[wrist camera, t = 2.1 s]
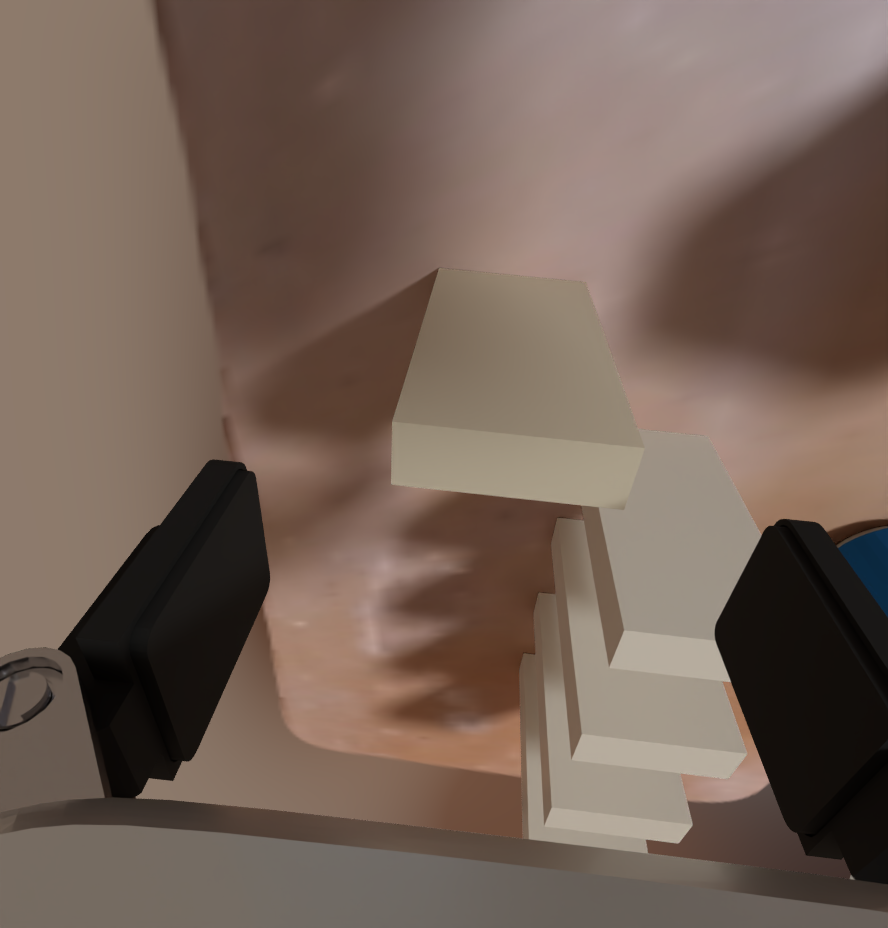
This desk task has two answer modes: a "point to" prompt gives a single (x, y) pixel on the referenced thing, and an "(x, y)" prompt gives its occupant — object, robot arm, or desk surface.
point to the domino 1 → (515, 396)
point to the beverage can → (870, 561)
